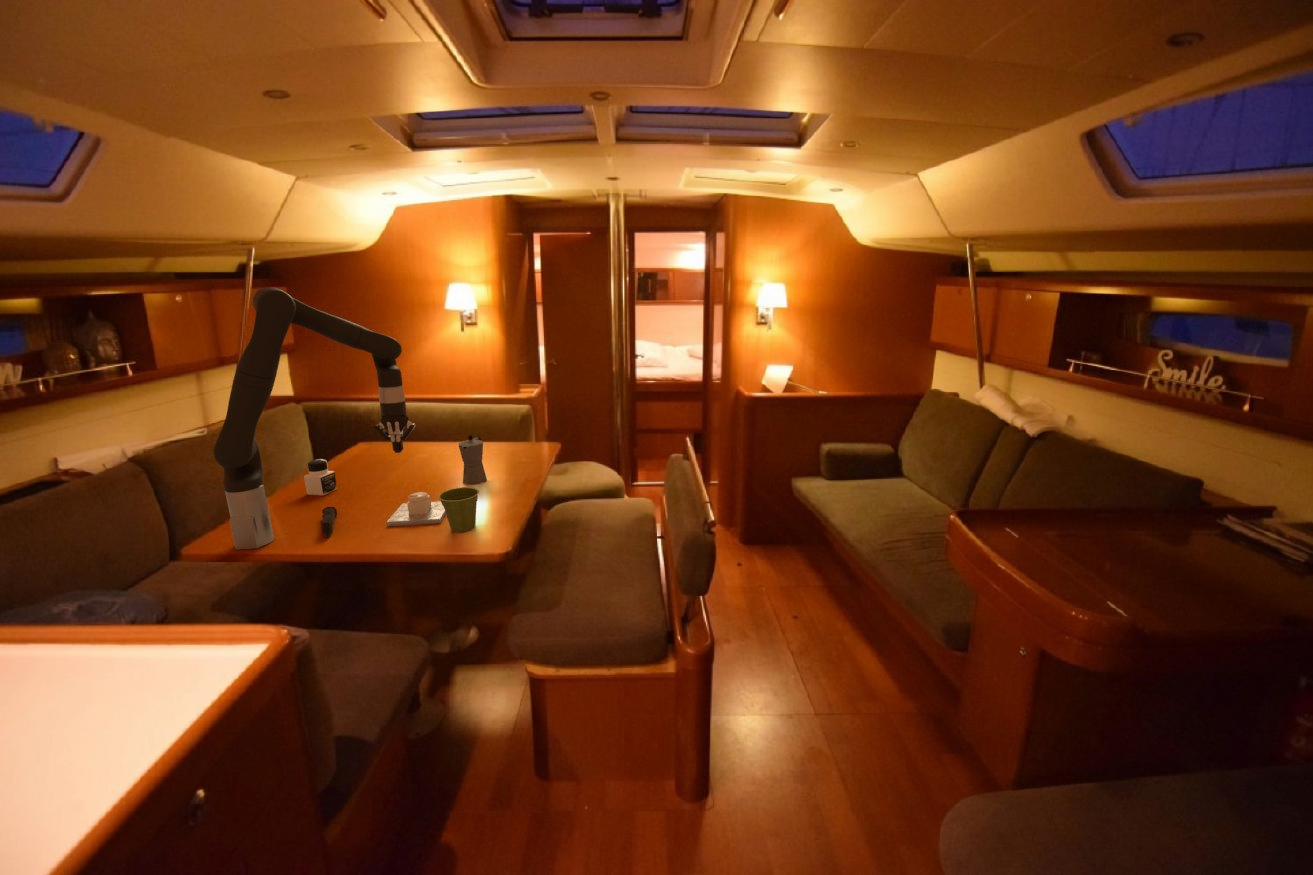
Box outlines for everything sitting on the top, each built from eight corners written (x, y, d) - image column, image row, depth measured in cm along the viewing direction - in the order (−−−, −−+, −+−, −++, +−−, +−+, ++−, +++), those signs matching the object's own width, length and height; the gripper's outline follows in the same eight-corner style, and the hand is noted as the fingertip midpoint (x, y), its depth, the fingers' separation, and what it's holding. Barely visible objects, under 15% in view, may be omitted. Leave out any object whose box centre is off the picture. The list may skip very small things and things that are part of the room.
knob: (431, 506, 195) (429, 491, 193) (427, 513, 189) (424, 498, 188) (413, 507, 194) (411, 492, 193) (408, 514, 189) (406, 499, 187)
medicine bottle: (323, 495, 212) (318, 463, 209) (306, 494, 214) (300, 463, 210) (337, 489, 219) (332, 458, 216) (321, 488, 220) (315, 457, 217)
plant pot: (448, 521, 186) (444, 487, 184) (486, 519, 187) (483, 486, 184) (437, 537, 175) (433, 501, 172) (478, 535, 176) (474, 499, 173)
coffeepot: (480, 486, 218) (475, 439, 214) (455, 486, 219) (450, 439, 214) (495, 473, 233) (491, 429, 228) (472, 473, 234) (467, 429, 229)
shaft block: (440, 523, 185) (438, 508, 184) (387, 526, 184) (385, 511, 182) (452, 504, 201) (450, 491, 199) (403, 507, 199) (401, 493, 198)
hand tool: (324, 518, 192) (321, 505, 191) (337, 516, 193) (335, 503, 192) (317, 541, 175) (314, 526, 174) (332, 538, 176) (329, 524, 175)
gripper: (417, 397, 193) (422, 448, 197) (375, 398, 191) (381, 449, 196) (410, 401, 185) (415, 454, 190) (366, 402, 184) (373, 456, 189)
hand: (398, 452), depth 193 cm, fingers closed
